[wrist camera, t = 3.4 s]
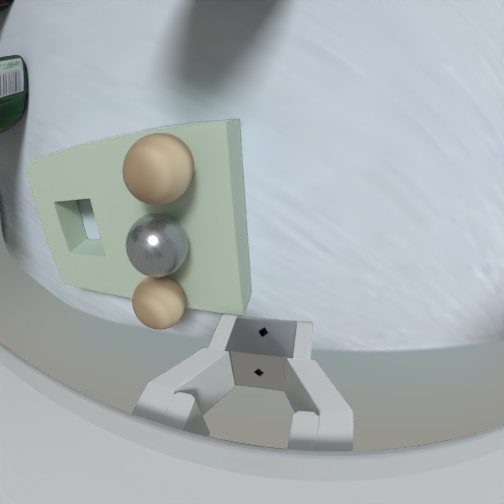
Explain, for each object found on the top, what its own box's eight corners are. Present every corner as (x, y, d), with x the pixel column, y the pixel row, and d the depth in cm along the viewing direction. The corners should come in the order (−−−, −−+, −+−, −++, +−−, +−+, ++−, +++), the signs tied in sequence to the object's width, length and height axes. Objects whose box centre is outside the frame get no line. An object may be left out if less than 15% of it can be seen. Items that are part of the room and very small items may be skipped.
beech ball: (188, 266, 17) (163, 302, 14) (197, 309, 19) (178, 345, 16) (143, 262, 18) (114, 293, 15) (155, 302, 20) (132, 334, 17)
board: (239, 118, 14) (226, 121, 12) (251, 292, 20) (243, 315, 18) (45, 155, 18) (25, 163, 16) (78, 269, 24) (64, 283, 22)
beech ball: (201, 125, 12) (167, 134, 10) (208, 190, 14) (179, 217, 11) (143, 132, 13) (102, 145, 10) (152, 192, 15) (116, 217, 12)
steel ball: (193, 203, 15) (162, 231, 12) (201, 258, 16) (177, 294, 14) (141, 204, 16) (105, 229, 13) (153, 254, 17) (123, 286, 14)
